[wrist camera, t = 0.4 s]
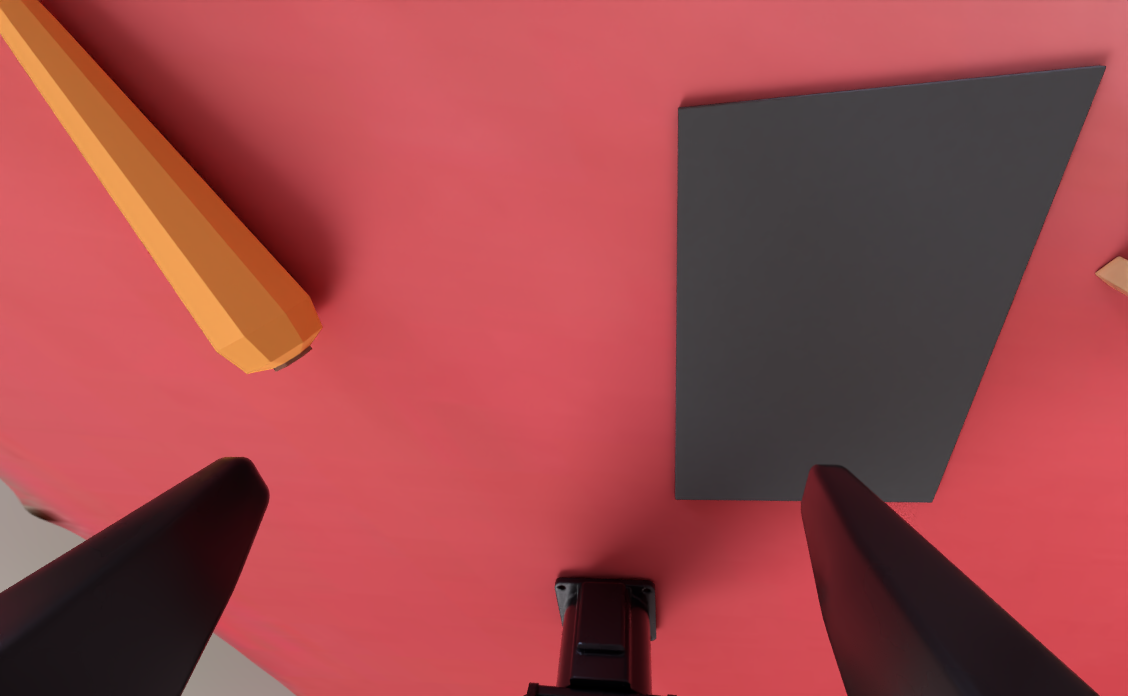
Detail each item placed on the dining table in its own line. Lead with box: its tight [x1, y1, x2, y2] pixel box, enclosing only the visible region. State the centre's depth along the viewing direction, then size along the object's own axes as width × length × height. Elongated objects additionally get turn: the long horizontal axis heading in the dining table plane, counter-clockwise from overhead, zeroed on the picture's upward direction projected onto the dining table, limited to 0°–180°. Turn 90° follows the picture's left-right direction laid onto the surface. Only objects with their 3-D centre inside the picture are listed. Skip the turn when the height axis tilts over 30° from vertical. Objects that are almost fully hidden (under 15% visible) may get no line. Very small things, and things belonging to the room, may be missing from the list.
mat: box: [675, 65, 1106, 502], centre depth 23 cm, size 20×13×1 cm, turn 6°
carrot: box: [0, 0, 322, 374], centre depth 20 cm, size 20×4×4 cm, turn 28°
